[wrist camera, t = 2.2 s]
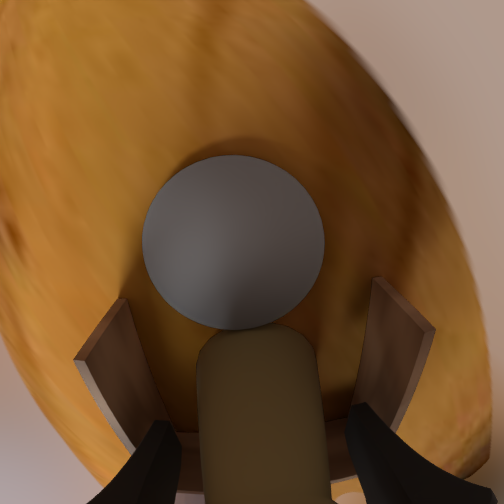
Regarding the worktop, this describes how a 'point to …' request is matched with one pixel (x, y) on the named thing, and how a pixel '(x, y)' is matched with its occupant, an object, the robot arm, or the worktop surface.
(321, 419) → the pepper mill
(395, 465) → the robot arm
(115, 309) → the open wooden enclosure
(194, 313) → the coaster
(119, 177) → the worktop surface
